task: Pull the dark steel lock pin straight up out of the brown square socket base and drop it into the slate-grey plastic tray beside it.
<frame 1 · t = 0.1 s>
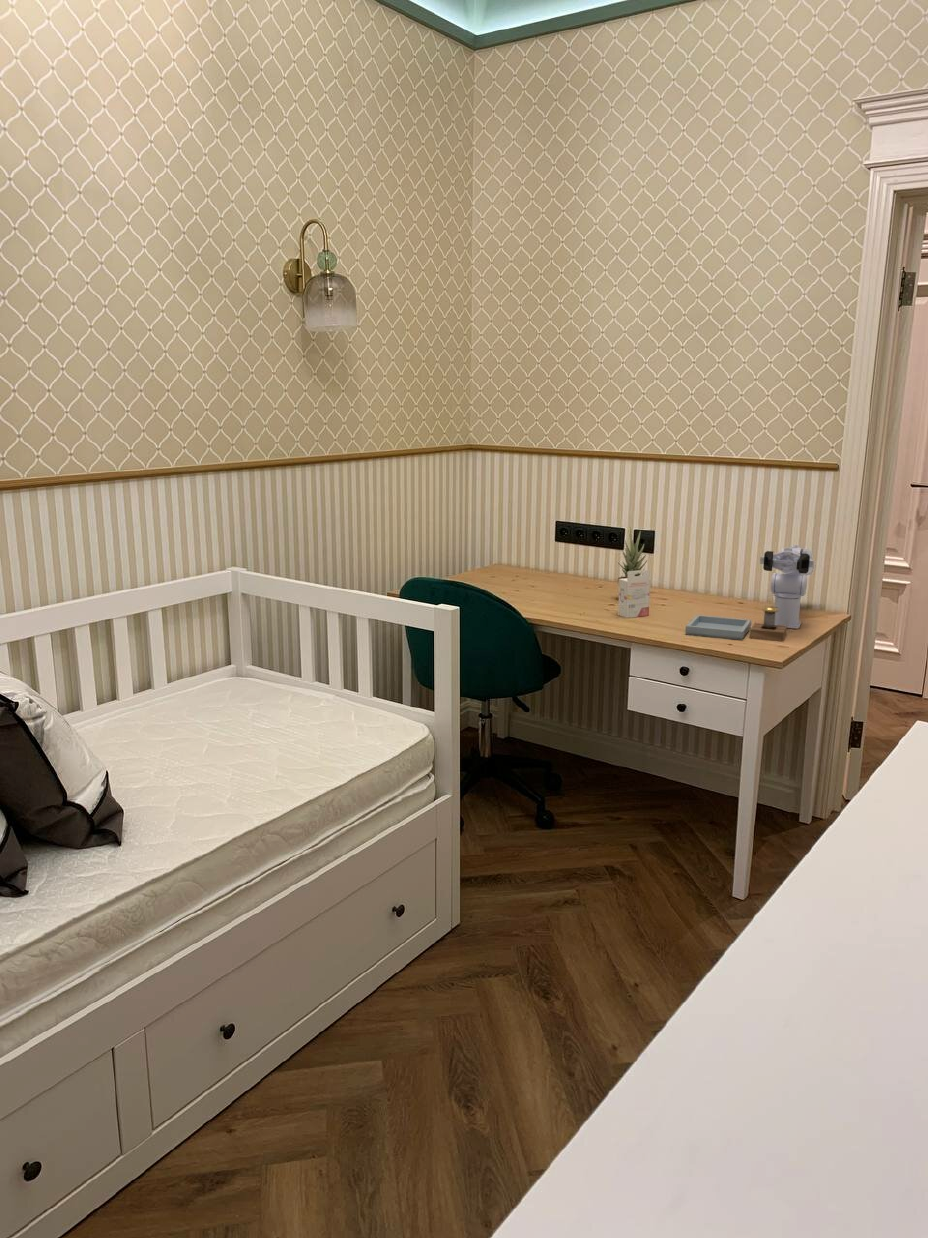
hand: (783, 564, 269), 22 cm above the table, tool horizontal, fingers open, 7 cm apart
potted plant: (630, 600, 327), on the table
brown square socket base: (768, 636, 278), on the table
lock pin: (769, 621, 277), in the brown square socket base
ink cartridge box: (633, 616, 303), on the table
tray: (718, 631, 283), on the table
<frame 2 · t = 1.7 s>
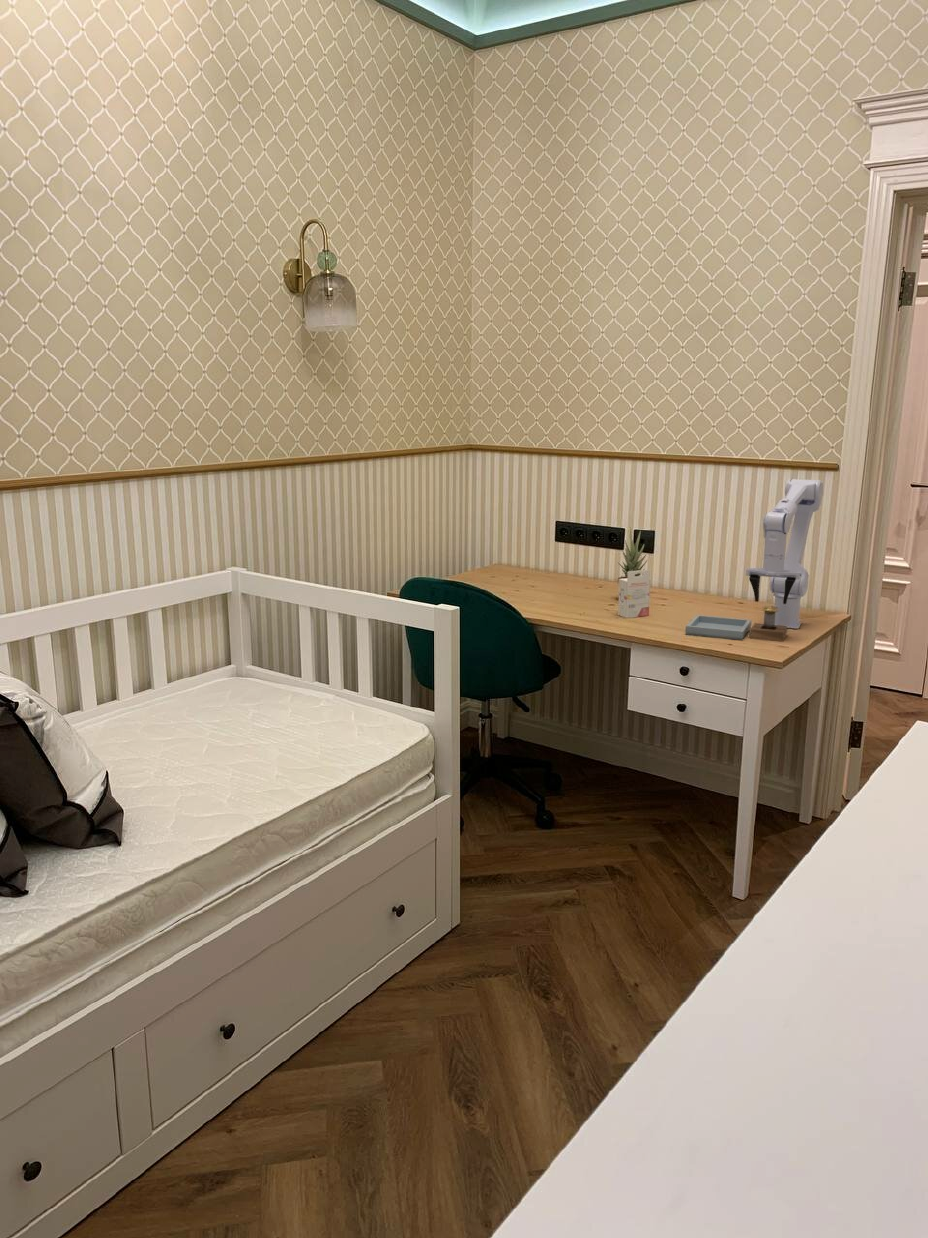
hand: (770, 602, 275), 10 cm above the table, tool pointing down, fingers open, 7 cm apart
nothing on the table moved.
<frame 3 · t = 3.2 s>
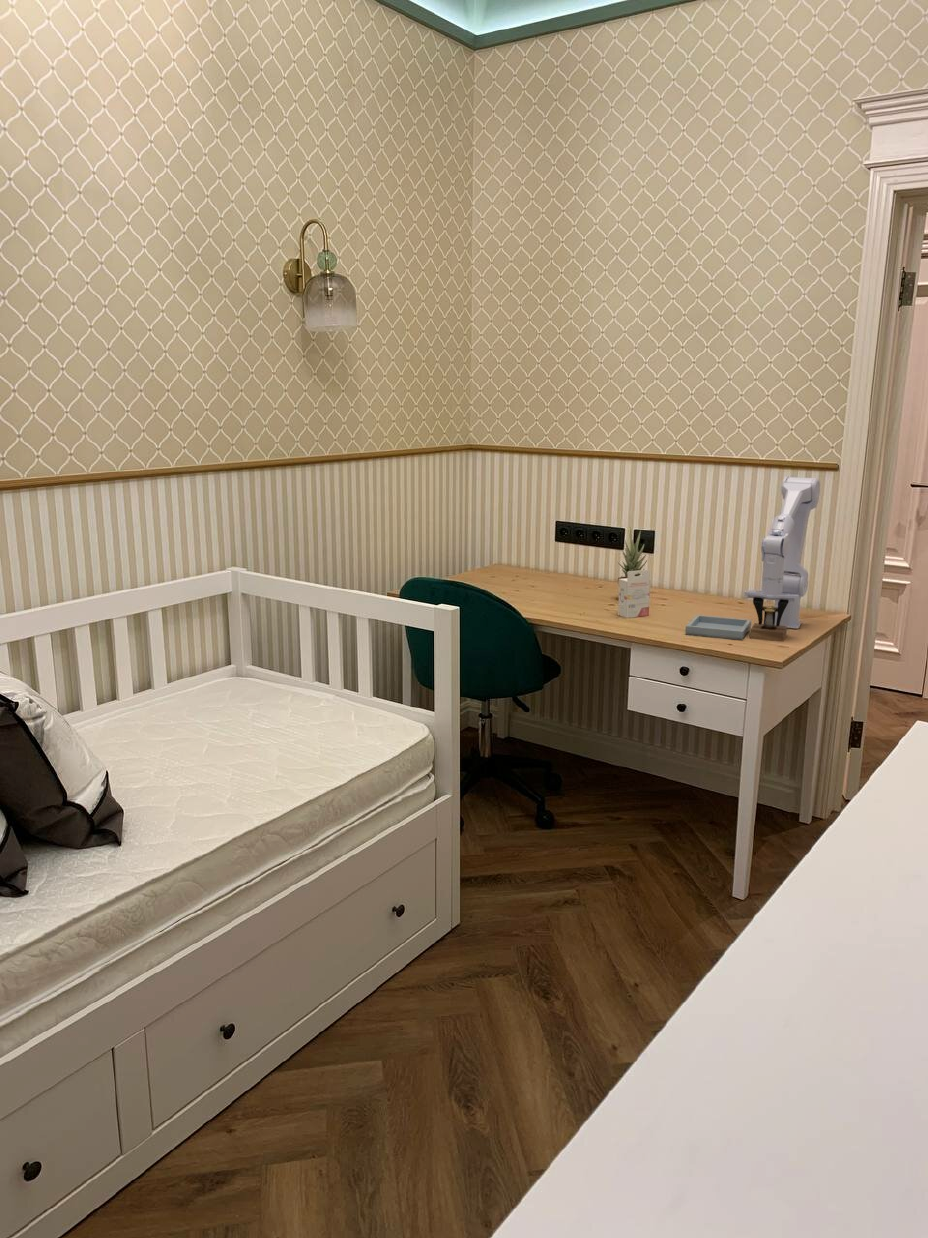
hand: (769, 624, 277), 3 cm above the table, tool pointing down, fingers closed on lock pin, 4 cm apart
lock pin: (769, 621, 277), in the brown square socket base, touching gripper
everything else where it was.
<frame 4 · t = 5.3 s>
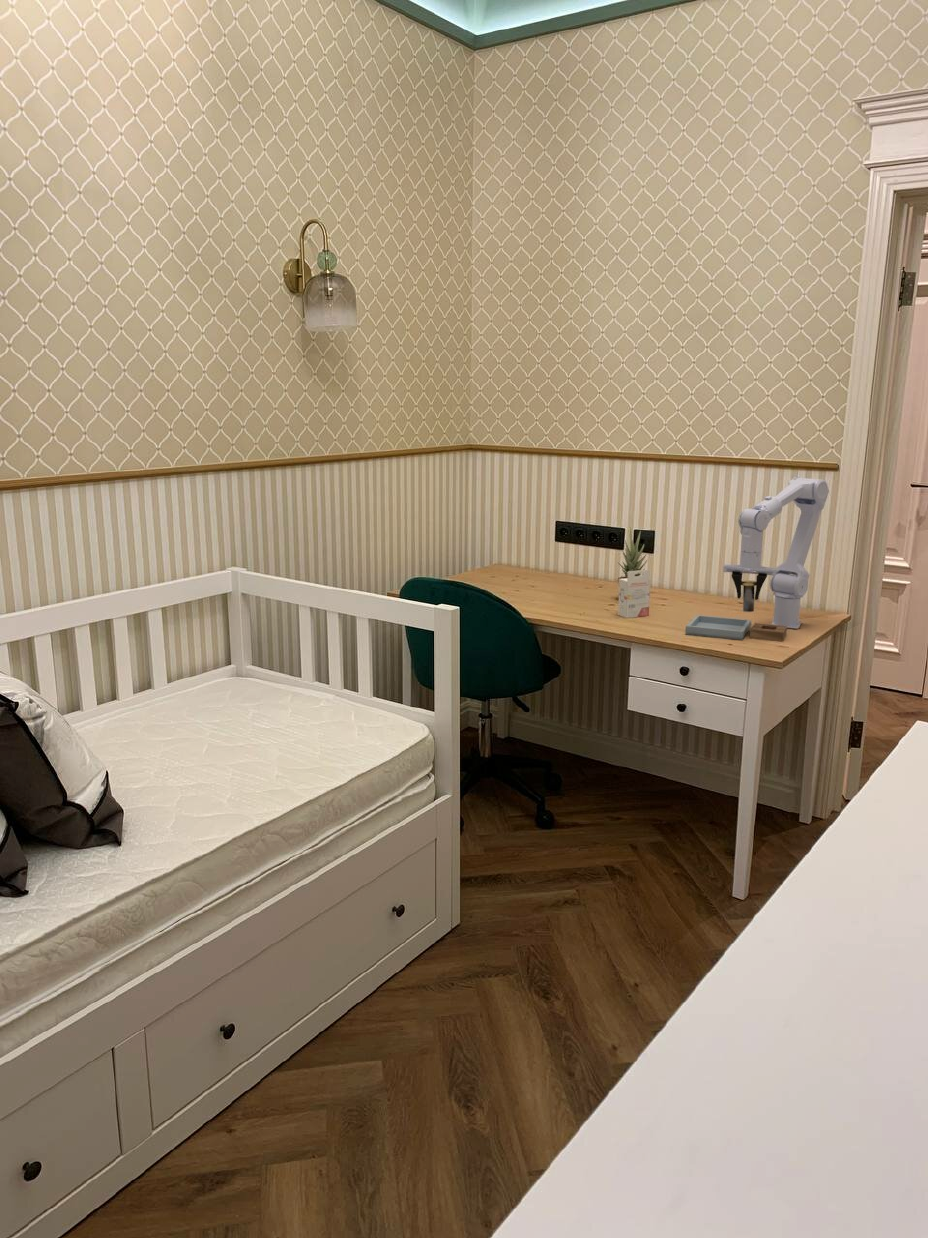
hand: (747, 598, 278), 10 cm above the table, tool pointing down, fingers closed on lock pin, 4 cm apart
lock pin: (748, 596, 277), point 11 cm above the table, touching gripper
everything else where it was.
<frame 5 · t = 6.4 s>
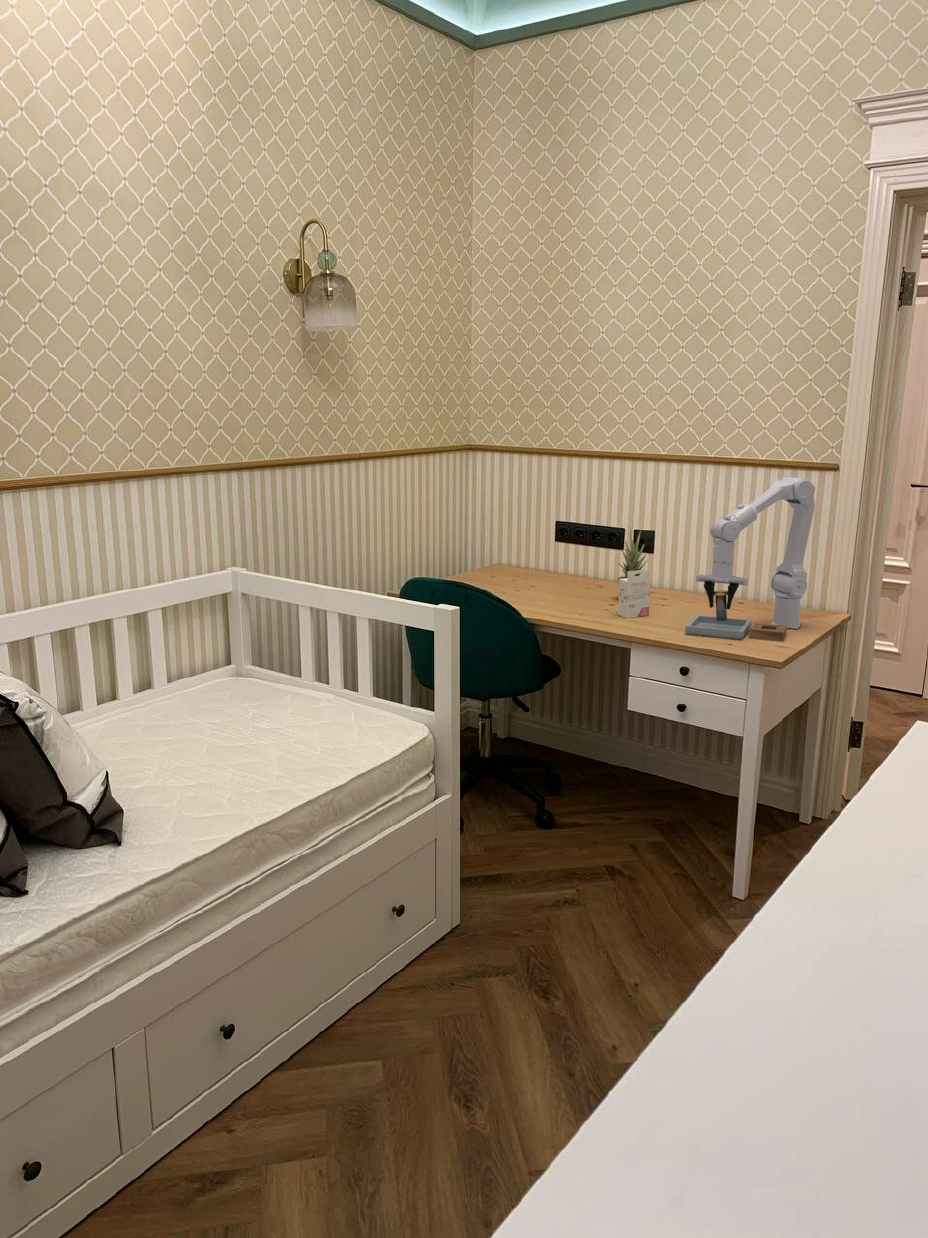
hand: (719, 607, 282), 7 cm above the table, tool pointing down, fingers closed on lock pin, 4 cm apart
lock pin: (721, 605, 281), point 8 cm above the table, tilted 5°, touching gripper
everything else where it was.
when the fingers open (6 cm above the table, at t = 7.4 s): lock pin drops 2 cm, resting on tray.
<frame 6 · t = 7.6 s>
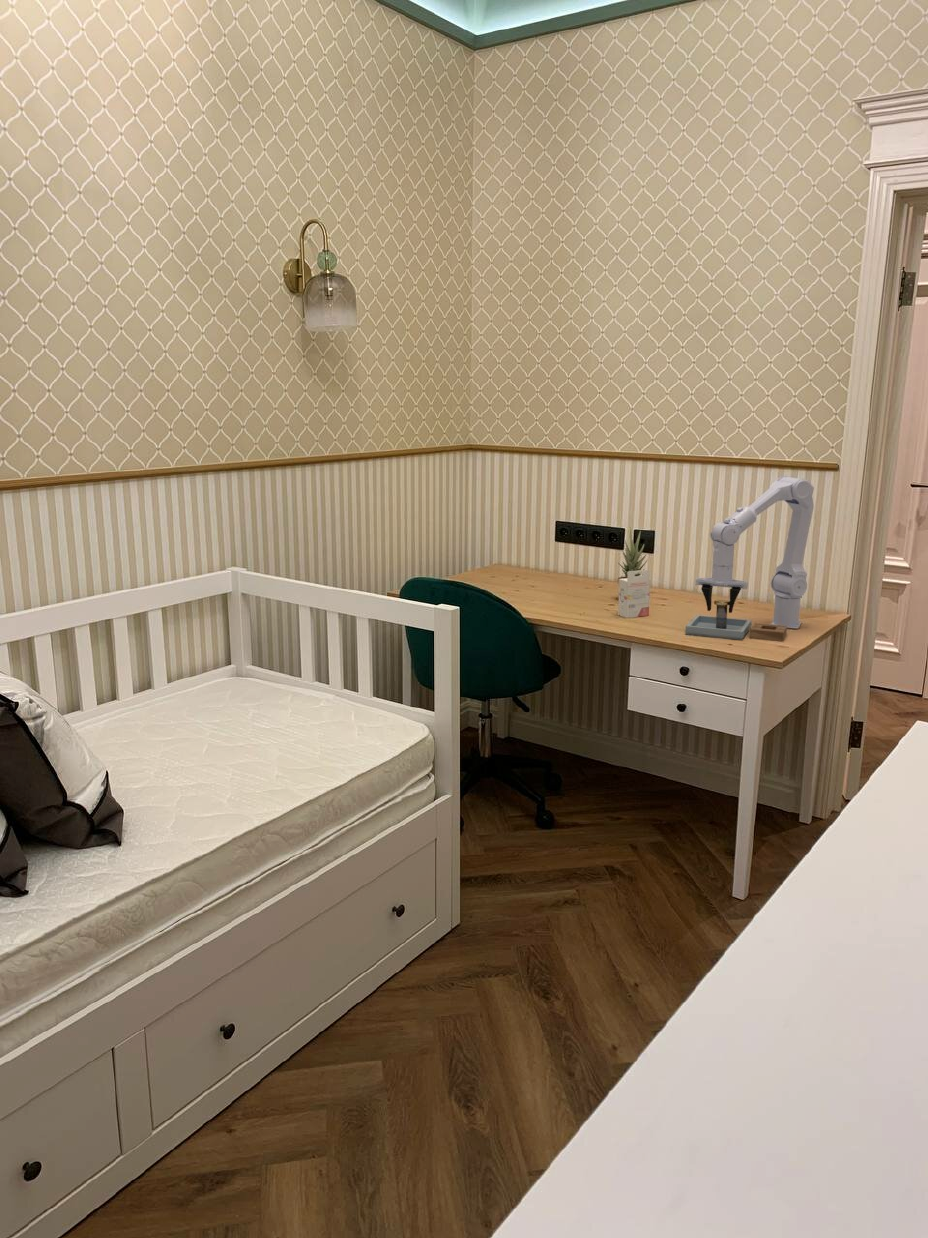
hand: (719, 611, 282), 6 cm above the table, tool pointing down, fingers open, 5 cm apart
lock pin: (721, 615, 282), in the tray, point 5 cm above the table, touching gripper
everything else where it was.
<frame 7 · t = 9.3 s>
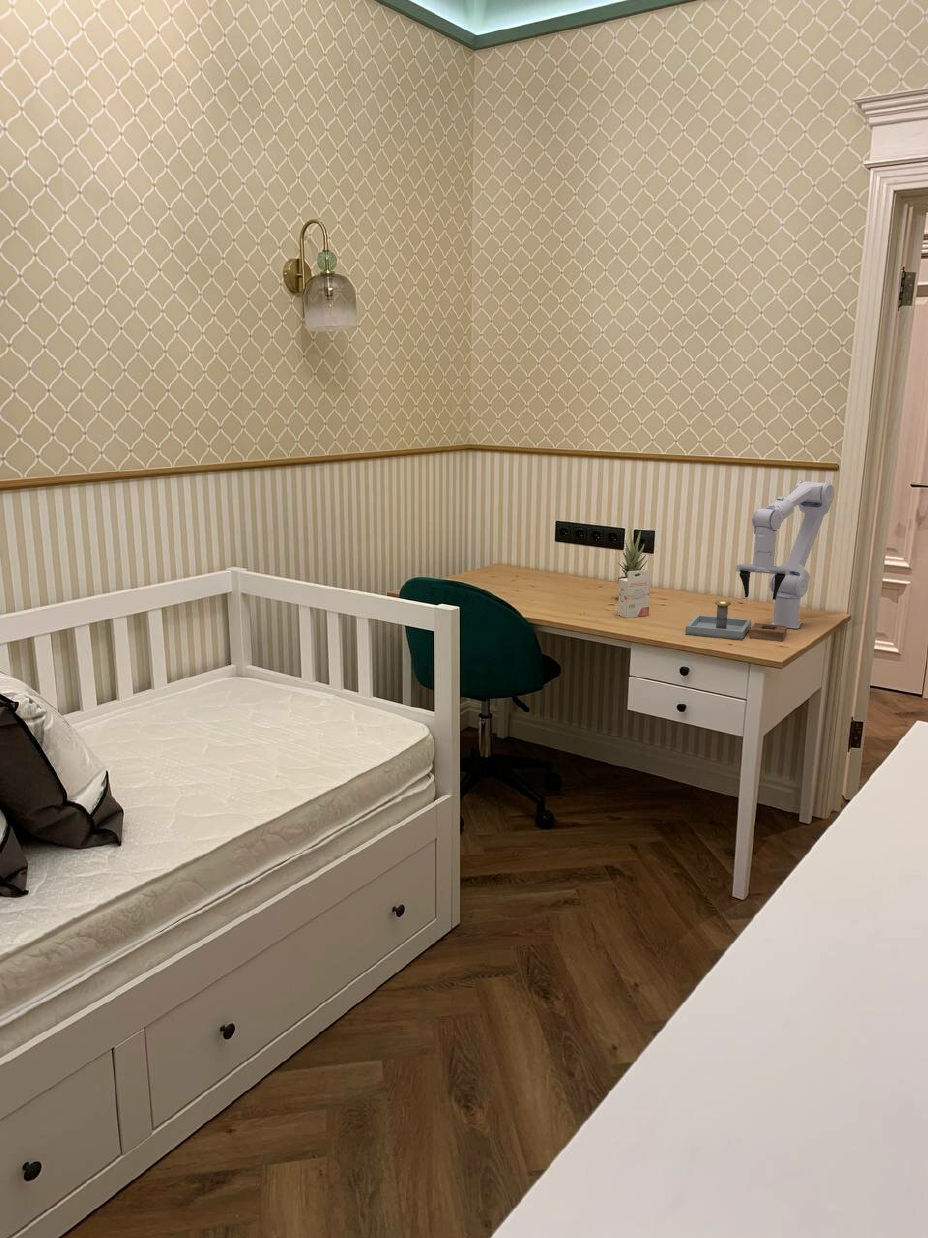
hand: (760, 597, 279), 10 cm above the table, tool pointing down, fingers open, 7 cm apart
lock pin: (722, 615, 282), in the tray, point 5 cm above the table
everything else where it was.
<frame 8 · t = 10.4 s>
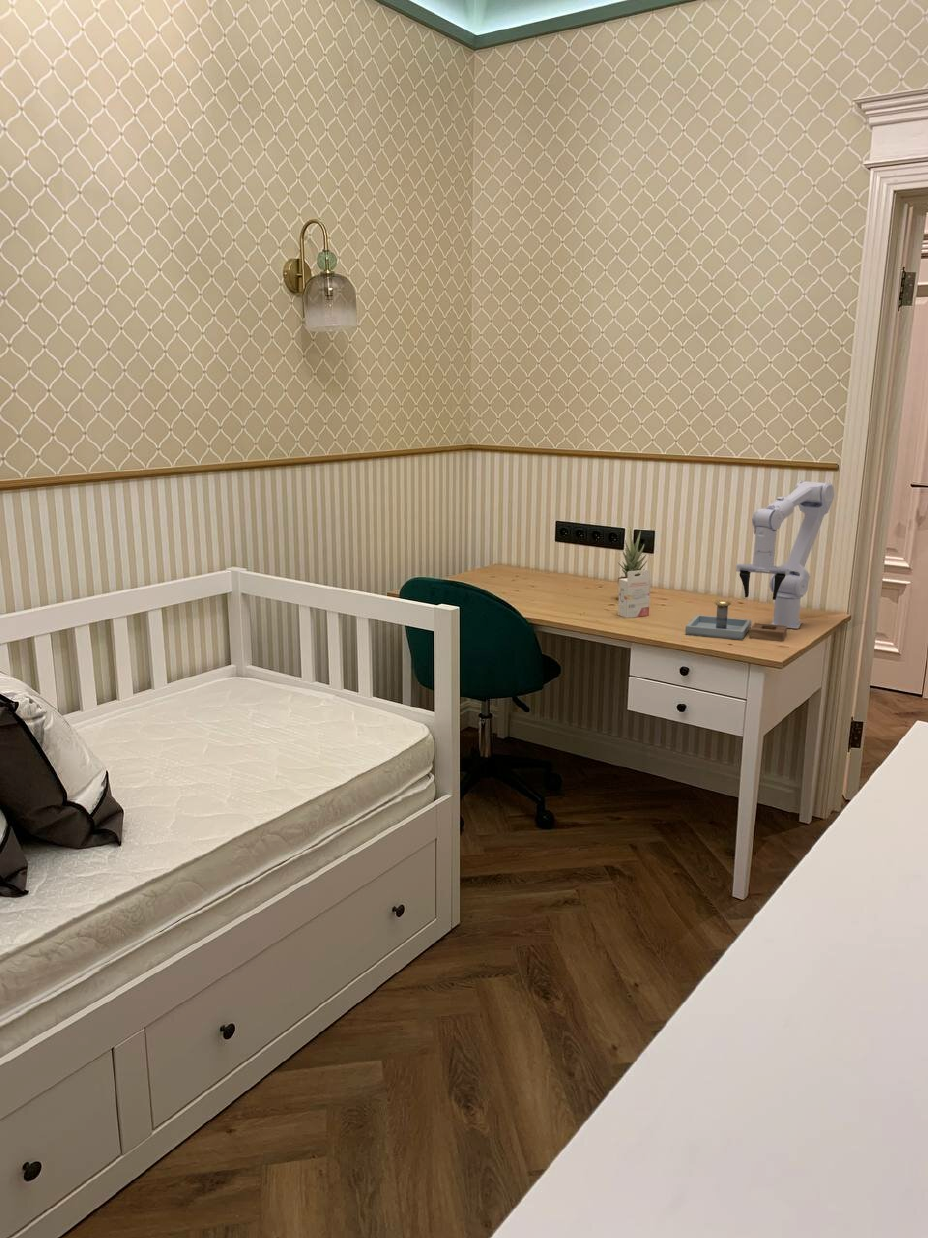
hand: (760, 597, 279), 10 cm above the table, tool pointing down, fingers open, 7 cm apart
nothing on the table moved.
at the end: lock pin inside the target area on the tray (0.7 cm from its centre), point 4.8 cm above the tray's base; the gripper is holding nothing; lock pin moved 13.3 cm from its start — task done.
